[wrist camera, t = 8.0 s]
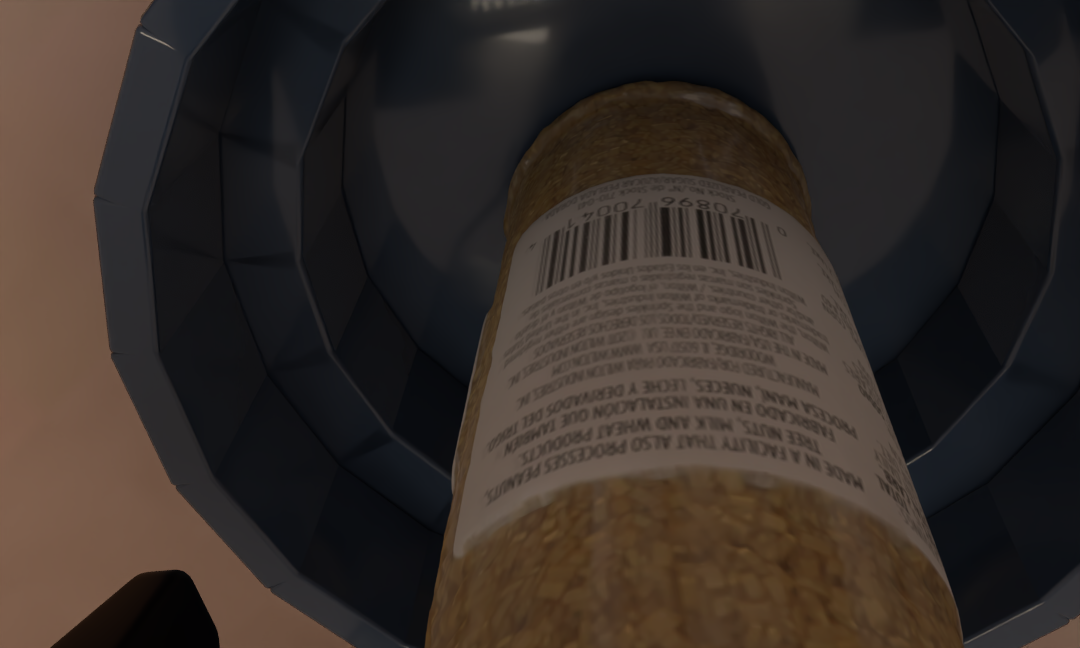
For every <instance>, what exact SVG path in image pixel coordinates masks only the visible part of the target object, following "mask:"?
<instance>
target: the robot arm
mask: <svg viewBox="0 0 1080 648" xmlns="http://www.w3.org/2000/svg"><path fill="white" fill-rule="evenodd" d="M51 648H220V645H219V637H218V632H217V629H216V627H215V625H214V623H213V621H212V619H211V617H210V614H209V612H208V610H207V608H206V606H205V604H204V602H203V600H202V598H201V596H200V594H199V592H198V590H197V588H196V586H195V584H194V582H193V580H192V579H191V577H190V576H189V575H188V574H186V573H185V572H184V571H180V570H167V571H155V572H146V573H142V574H139V575H137V576H135V577H134V578H133V579H131V580H130V581H129V582H128V583H127V584H125V585H124V586H123V587H122V588H121V589H119V590H118V591H117V592H116V593H115V594H114V595H112V596H111V597H110V598H109V599H108V600H106V601H105V602H104V603H103V604H102V605H100V606H99V607H98V608H97V609H96V610H95V611H93V612H92V613H91V614H90V615H89V616H87V617H86V618H85V619H84V620H83V621H81V622H80V623H79V624H78V625H77V626H76V627H74V628H73V629H72V630H71V631H70V632H68V633H67V634H66V635H65V636H64V637H62V638H61V639H60V640H59V641H58V642H57V643H55V644H54V645H53V646H52V647H51Z"/></svg>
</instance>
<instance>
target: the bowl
mask: <svg viewBox="0 0 1080 648" xmlns="http://www.w3.org/2000/svg"><path fill="white" fill-rule="evenodd" d="M140 23H141V24H139V25H138V26H137V28H136V30H135V33H134V37H133V41H132V45H131V49H130V53H129V56H128V60H127V64H126V68H125V72H124V76H123V79H122V83H121V87H120V91H119V95H118V99H117V102H116V106H115V110H114V114H113V118H112V122H111V126H110V129H109V133H108V137H107V141H106V145H105V149H104V152H103V156H102V160H101V164H100V168H99V172H98V175H97V179H96V183H95V187H94V194H95V197H94V200H93V204H94V213H95V222H96V231H97V240H98V249H99V258H100V267H101V276H102V285H103V294H104V303H105V312H106V320H107V329H108V338H109V347H110V350H111V352H112V353H111V358H112V360H113V362H114V364H115V367H116V369H117V371H118V373H119V375H120V377H121V379H122V381H123V383H124V385H125V387H126V390H127V392H128V394H129V396H130V398H131V400H132V402H133V404H134V406H135V408H136V410H137V413H138V415H139V417H140V419H141V421H142V423H143V425H144V427H145V429H146V431H147V433H148V436H149V438H150V440H151V442H152V444H153V446H154V448H155V450H156V452H157V454H158V456H159V459H160V461H161V463H162V465H163V467H164V469H165V471H166V473H167V475H168V477H169V479H170V482H171V484H173V485H175V486H176V489H177V491H178V492H179V493H180V494H181V495H182V496H183V497H184V498H185V500H186V501H187V502H188V503H189V504H190V505H191V506H192V507H193V508H194V509H195V511H196V512H197V513H198V514H199V515H200V516H201V517H202V518H203V519H204V520H205V522H206V523H207V524H208V525H209V526H210V527H211V528H212V529H213V530H214V531H215V533H216V534H217V535H218V536H219V537H220V538H221V539H222V540H223V541H224V542H225V544H226V545H227V546H228V547H229V548H230V549H231V550H232V551H233V552H234V553H235V555H236V556H237V557H238V558H239V559H240V560H241V561H242V562H243V563H244V564H245V566H246V567H247V568H248V569H249V570H250V571H251V572H252V573H253V574H254V575H255V577H256V578H257V579H258V580H259V581H260V582H261V583H262V584H263V585H264V586H265V587H266V588H270V591H271V592H272V593H273V594H274V595H276V596H278V597H279V598H281V599H282V600H284V601H285V602H287V603H288V604H290V605H291V606H293V607H294V608H296V609H297V610H299V611H300V612H302V613H304V614H305V615H307V616H308V617H310V618H311V619H313V620H314V621H316V622H317V623H319V624H320V625H322V626H323V627H325V628H326V629H328V630H330V631H331V632H333V633H334V634H336V635H337V636H339V637H340V638H342V639H343V640H345V641H346V642H348V643H349V644H351V645H352V646H354V647H356V648H425V640H426V631H427V625H428V618H429V611H430V609H431V606H432V602H433V597H434V589H435V583H436V578H437V574H438V569H439V564H440V557H441V551H442V547H443V540H444V534H445V530H446V526H447V522H448V517H449V513H450V510H451V504H452V499H453V493H452V466H453V461H454V456H455V452H456V447H457V442H458V437H459V432H460V428H461V423H462V419H463V414H464V409H465V405H466V400H467V395H468V389H469V384H470V380H471V376H472V371H473V367H474V362H475V358H476V353H477V349H478V345H479V340H480V336H481V331H482V327H483V323H484V320H485V317H486V314H487V313H488V312H489V310H490V309H491V308H492V305H493V302H494V296H495V292H496V288H497V284H498V279H499V275H500V270H501V263H502V258H503V253H504V249H505V245H506V242H507V239H506V236H505V234H504V228H503V225H504V217H505V212H506V207H507V200H508V191H509V186H510V182H511V180H512V177H513V174H514V172H515V170H516V168H517V166H518V164H519V163H520V161H521V159H522V158H523V156H524V154H525V153H526V152H527V151H528V149H529V148H530V147H531V146H532V144H533V143H534V141H535V140H536V138H537V136H538V135H539V133H540V132H541V131H542V130H543V129H544V128H545V127H547V126H548V125H550V124H551V123H552V122H553V121H554V120H555V119H556V118H558V117H559V116H560V115H561V114H562V113H564V112H565V111H567V110H568V109H570V108H571V107H572V106H574V105H575V104H576V103H578V102H579V101H580V100H582V99H585V98H587V97H589V96H592V95H594V94H595V93H598V92H601V91H605V90H609V89H612V88H616V87H619V86H621V85H624V84H629V83H635V82H641V81H653V82H657V83H658V82H666V81H680V82H687V83H691V84H695V85H700V86H707V87H711V88H716V89H718V90H721V91H723V92H725V93H727V94H729V95H731V96H733V97H735V98H737V99H739V100H741V101H742V102H743V103H745V104H746V105H748V106H749V107H750V108H752V109H754V110H756V111H757V112H759V113H760V114H761V115H763V116H764V117H765V118H766V119H767V120H768V121H769V122H770V123H771V124H772V125H773V126H774V127H775V128H776V129H777V130H778V131H779V132H780V134H781V135H782V136H783V137H784V139H785V140H786V142H787V143H788V145H789V147H790V149H791V151H792V153H793V154H794V156H795V157H796V159H797V160H798V162H799V163H800V165H801V166H802V169H803V172H804V176H805V179H806V182H807V188H808V193H809V196H810V200H811V221H812V223H813V226H814V231H815V236H816V239H817V241H818V242H819V244H820V246H821V248H822V249H823V251H824V253H825V254H826V256H827V258H828V259H829V261H830V263H831V265H832V267H833V269H834V271H835V273H836V275H837V278H838V280H839V283H840V285H841V288H842V291H843V294H844V296H845V299H846V302H847V304H848V307H849V310H850V312H851V315H852V318H853V321H854V323H855V326H856V329H857V332H858V334H859V337H860V340H861V343H862V345H863V348H864V351H865V353H866V356H867V359H868V361H869V364H870V367H871V369H872V372H873V375H874V378H875V381H876V383H877V386H878V389H879V392H880V395H881V398H882V401H883V403H884V406H885V409H886V411H887V414H888V417H889V419H890V422H891V425H892V427H893V430H894V433H895V436H896V438H897V441H898V444H899V447H900V449H901V452H902V455H903V458H904V460H905V463H906V466H907V469H908V471H909V474H910V477H911V480H912V482H913V485H914V488H915V491H916V493H917V496H918V499H919V502H920V504H921V507H922V510H923V513H924V515H925V518H926V521H927V523H928V526H929V529H930V531H931V534H932V537H933V539H934V542H935V545H936V548H937V550H938V553H939V556H940V558H941V561H942V564H943V567H944V570H945V573H946V576H947V579H948V582H949V585H950V588H951V591H952V594H953V597H954V600H955V603H956V606H957V609H958V613H959V618H960V624H961V629H962V634H963V646H964V648H1021V647H1023V646H1025V645H1027V644H1029V643H1031V642H1033V641H1035V640H1037V639H1039V638H1041V637H1043V636H1045V635H1047V634H1049V633H1051V632H1053V631H1055V630H1057V629H1059V628H1061V627H1063V626H1065V625H1067V624H1068V623H1069V619H1075V618H1076V617H1078V616H1079V615H1080V0H153V1H152V2H151V4H150V5H149V6H148V8H147V9H146V10H145V12H144V13H143V15H142V16H141V21H140Z"/></svg>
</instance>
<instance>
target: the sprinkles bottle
mask: <svg viewBox="0 0 1080 648" xmlns="http://www.w3.org/2000/svg"><path fill="white" fill-rule="evenodd" d="M503 228H504V234H505V236H506V239H507V242H506V245H505V249H504V253H503V258H502V263H501V270H500V275H499V279H498V284H497V288H496V292H495V296H494V302H493V305H492V308H491V309H490V310H489V312H488V313H487V314H486V317H485V320H484V323H483V327H482V331H481V336H480V340H479V345H478V349H477V353H476V358H475V362H474V367H473V371H472V376H471V380H470V384H469V389H468V395H467V400H466V405H465V409H464V414H463V419H462V423H461V428H460V432H459V437H458V442H457V447H456V452H455V456H454V461H453V466H452V493H453V499H452V504H451V510H450V513H449V517H448V522H447V526H446V530H445V534H444V540H443V547H442V551H441V557H440V564H439V569H438V574H437V578H436V583H435V589H434V597H433V602H432V606H431V609H430V611H429V618H428V625H427V631H426V640H425V648H964V646H963V634H962V629H961V624H960V618H959V613H958V609H957V606H956V603H955V600H954V597H953V594H952V591H951V588H950V585H949V582H948V579H947V576H946V573H945V570H944V567H943V564H942V561H941V558H940V556H939V553H938V550H937V548H936V545H935V542H934V539H933V537H932V534H931V531H930V529H929V526H928V523H927V521H926V518H925V515H924V513H923V510H922V507H921V504H920V502H919V499H918V496H917V493H916V491H915V488H914V485H913V482H912V480H911V477H910V474H909V471H908V469H907V466H906V463H905V460H904V458H903V455H902V452H901V449H900V447H899V444H898V441H897V438H896V436H895V433H894V430H893V427H892V425H891V422H890V419H889V417H888V414H887V411H886V409H885V406H884V403H883V401H882V398H881V395H880V392H879V389H878V386H877V383H876V381H875V378H874V375H873V372H872V369H871V367H870V364H869V361H868V359H867V356H866V353H865V351H864V348H863V345H862V343H861V340H860V337H859V334H858V332H857V329H856V326H855V323H854V321H853V318H852V315H851V312H850V310H849V307H848V304H847V302H846V299H845V296H844V294H843V291H842V288H841V285H840V283H839V280H838V278H837V275H836V273H835V271H834V269H833V267H832V265H831V263H830V261H829V259H828V258H827V256H826V254H825V253H824V251H823V249H822V248H821V246H820V244H819V242H818V241H817V239H816V236H815V231H814V226H813V223H812V221H811V200H810V196H809V193H808V188H807V182H806V179H805V176H804V172H803V169H802V166H801V165H800V163H799V162H798V160H797V159H796V157H795V156H794V154H793V153H792V151H791V149H790V147H789V145H788V143H787V142H786V140H785V139H784V137H783V136H782V135H781V134H780V132H779V131H778V130H777V129H776V128H775V127H774V126H773V125H772V124H771V123H770V122H769V121H768V120H767V119H766V118H765V117H764V116H763V115H761V114H760V113H759V112H757V111H756V110H754V109H752V108H750V107H749V106H748V105H746V104H745V103H743V102H742V101H741V100H739V99H737V98H735V97H733V96H731V95H729V94H727V93H725V92H723V91H721V90H718V89H716V88H711V87H707V86H700V85H695V84H691V83H687V82H680V81H666V82H658V83H657V82H653V81H641V82H635V83H629V84H624V85H621V86H619V87H616V88H612V89H609V90H605V91H601V92H598V93H595V94H594V95H592V96H589V97H587V98H585V99H582V100H580V101H579V102H578V103H576V104H575V105H574V106H572V107H571V108H570V109H568V110H567V111H565V112H564V113H562V114H561V115H560V116H559V117H558V118H556V119H555V120H554V121H553V122H552V123H551V124H550V125H548V126H547V127H545V128H544V129H543V130H542V131H541V132H540V133H539V135H538V136H537V138H536V140H535V141H534V143H533V144H532V146H531V147H530V148H529V149H528V151H527V152H526V153H525V154H524V156H523V158H522V159H521V161H520V163H519V164H518V166H517V168H516V170H515V172H514V174H513V177H512V180H511V182H510V186H509V191H508V200H507V207H506V212H505V217H504V225H503Z"/></svg>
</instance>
